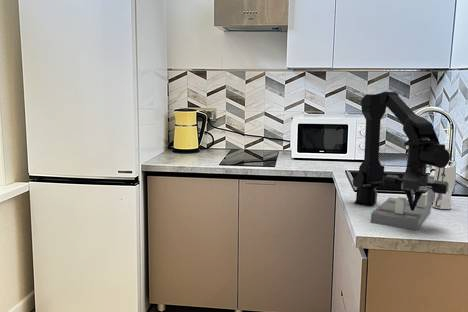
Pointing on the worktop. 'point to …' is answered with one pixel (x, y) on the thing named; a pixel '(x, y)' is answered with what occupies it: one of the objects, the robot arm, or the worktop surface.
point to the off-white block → (422, 200)
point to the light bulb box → (430, 192)
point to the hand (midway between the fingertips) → (412, 210)
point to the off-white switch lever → (400, 205)
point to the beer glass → (448, 176)
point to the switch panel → (400, 215)
